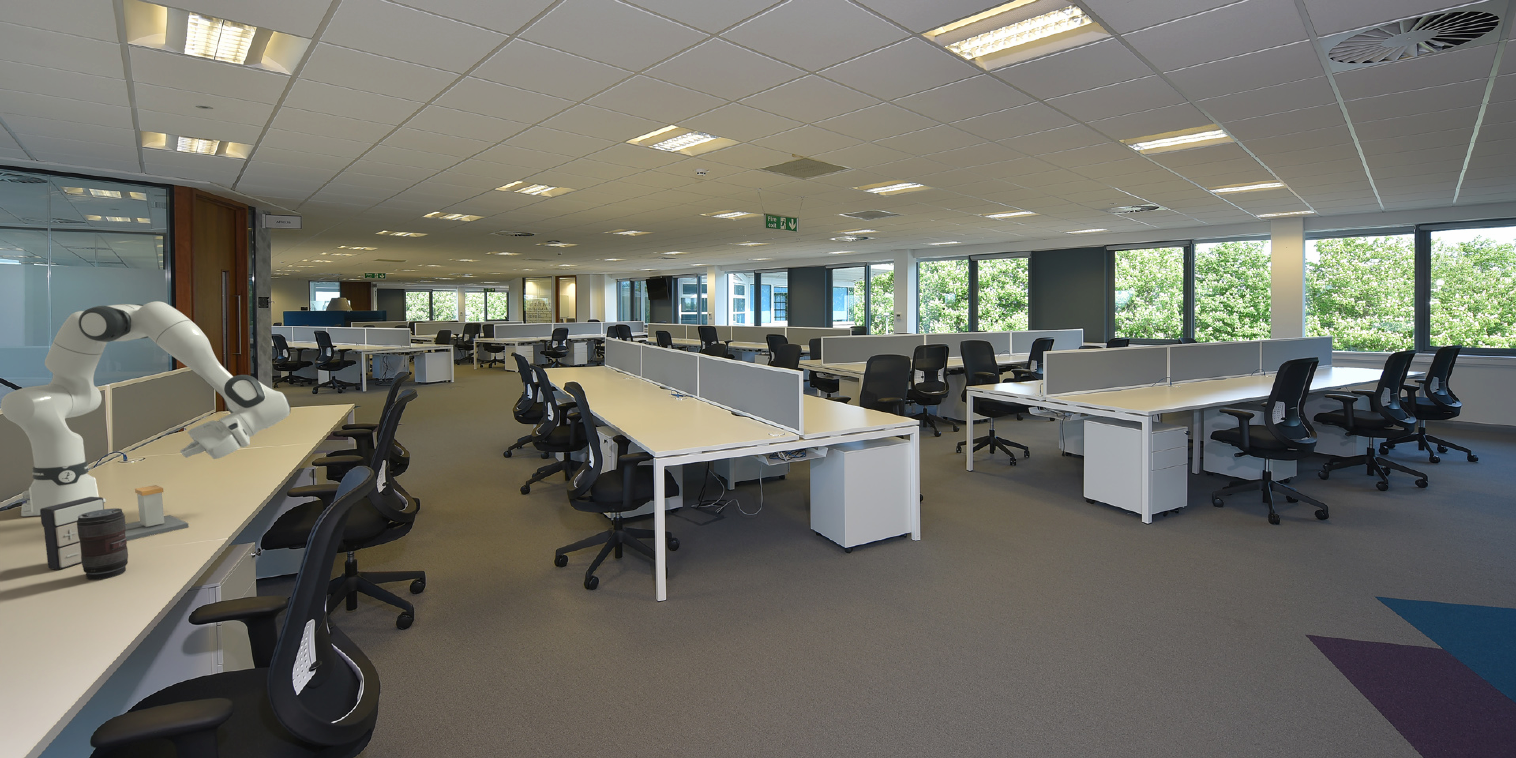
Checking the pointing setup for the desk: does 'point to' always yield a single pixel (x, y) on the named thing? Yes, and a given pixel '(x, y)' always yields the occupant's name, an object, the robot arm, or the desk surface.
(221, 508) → the desk surface
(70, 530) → the calculator
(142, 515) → the fader knob
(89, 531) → the camera lens
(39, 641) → the desk surface
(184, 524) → the fader console
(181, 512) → the desk surface
